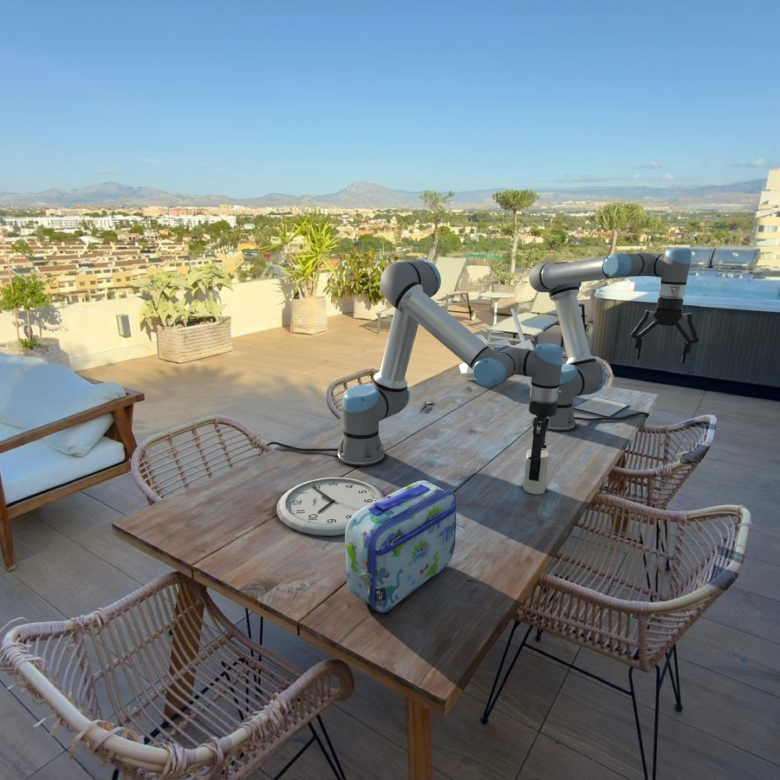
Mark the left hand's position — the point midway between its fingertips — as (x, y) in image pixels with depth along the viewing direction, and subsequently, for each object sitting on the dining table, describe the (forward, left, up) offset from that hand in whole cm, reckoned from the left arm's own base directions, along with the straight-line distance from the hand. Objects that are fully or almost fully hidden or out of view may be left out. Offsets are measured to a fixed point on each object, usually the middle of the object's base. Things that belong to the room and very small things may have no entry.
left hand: (535, 474), depth 152 cm
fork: (-52, +58, -5) cm, 78 cm away
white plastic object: (-29, +101, -5) cm, 105 cm away
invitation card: (+18, +88, -5) cm, 90 cm away
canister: (0, 0, -5) cm, 5 cm away
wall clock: (-50, -32, -5) cm, 59 cm away
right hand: (+33, +49, +27) cm, 65 cm away
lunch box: (-21, -55, -5) cm, 59 cm away
